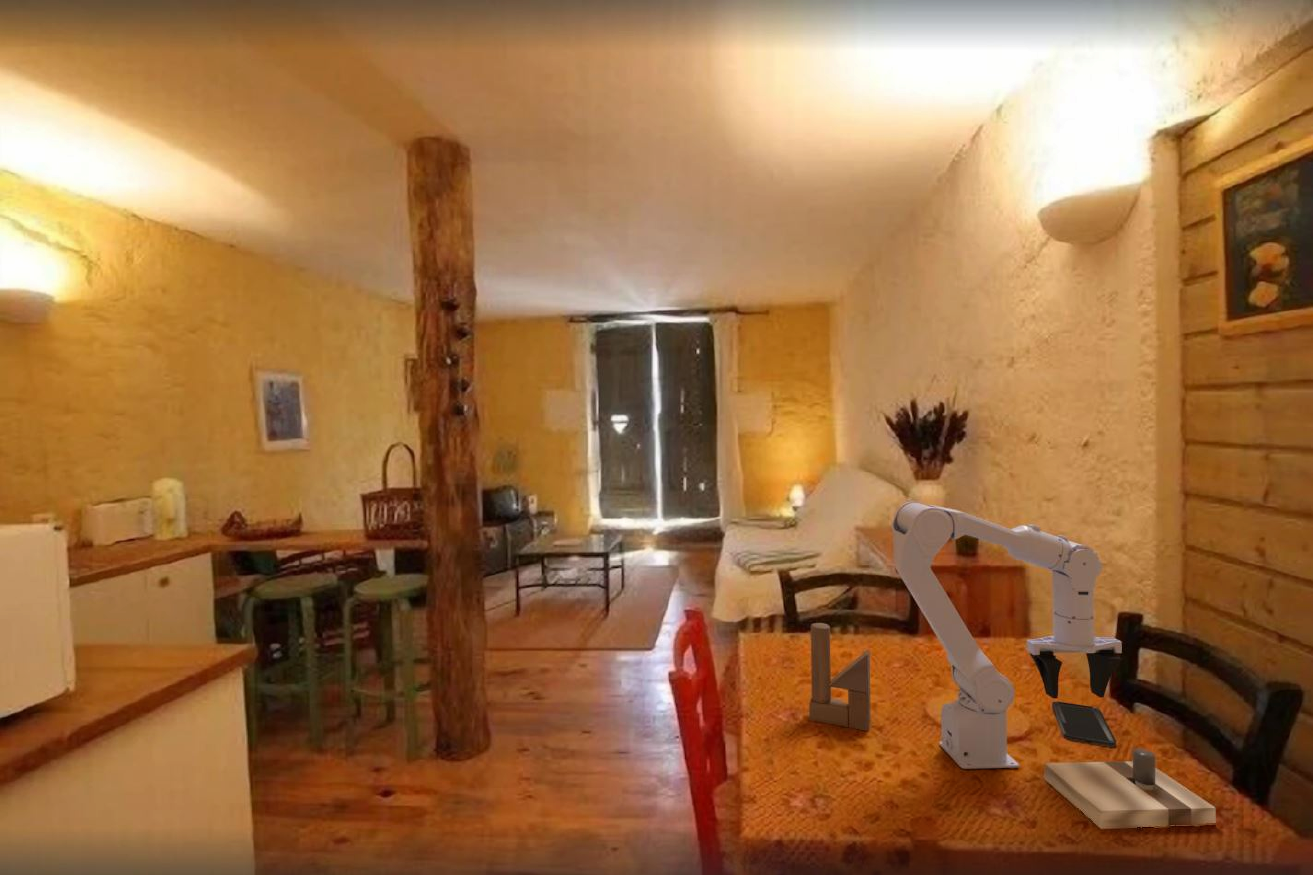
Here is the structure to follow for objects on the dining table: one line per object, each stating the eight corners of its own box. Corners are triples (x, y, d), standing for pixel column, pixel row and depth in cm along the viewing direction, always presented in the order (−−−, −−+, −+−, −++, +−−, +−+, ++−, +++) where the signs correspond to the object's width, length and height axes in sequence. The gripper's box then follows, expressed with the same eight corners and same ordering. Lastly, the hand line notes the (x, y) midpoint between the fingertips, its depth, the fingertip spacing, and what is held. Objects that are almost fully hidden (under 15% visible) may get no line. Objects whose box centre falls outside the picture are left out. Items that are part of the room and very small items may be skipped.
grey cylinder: (1142, 806, 89) (1142, 758, 89) (1128, 795, 92) (1128, 748, 92) (1160, 805, 89) (1160, 757, 89) (1145, 794, 92) (1145, 748, 92)
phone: (1098, 707, 119) (1117, 743, 105) (1098, 713, 119) (1117, 750, 105) (1050, 700, 122) (1062, 734, 109) (1050, 706, 122) (1062, 741, 109)
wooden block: (868, 732, 112) (867, 634, 112) (809, 721, 117) (807, 626, 116) (870, 723, 115) (869, 628, 115) (812, 712, 120) (811, 621, 120)
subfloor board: (1100, 828, 84) (1100, 810, 84) (1044, 779, 96) (1044, 763, 96) (1215, 825, 85) (1215, 807, 85) (1145, 776, 97) (1145, 760, 97)
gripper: (1044, 622, 98) (1045, 707, 98) (1135, 620, 98) (1136, 705, 98) (1018, 609, 105) (1020, 688, 106) (1103, 607, 105) (1105, 686, 105)
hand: (1074, 695), depth 102 cm, fingers open, 7 cm apart
